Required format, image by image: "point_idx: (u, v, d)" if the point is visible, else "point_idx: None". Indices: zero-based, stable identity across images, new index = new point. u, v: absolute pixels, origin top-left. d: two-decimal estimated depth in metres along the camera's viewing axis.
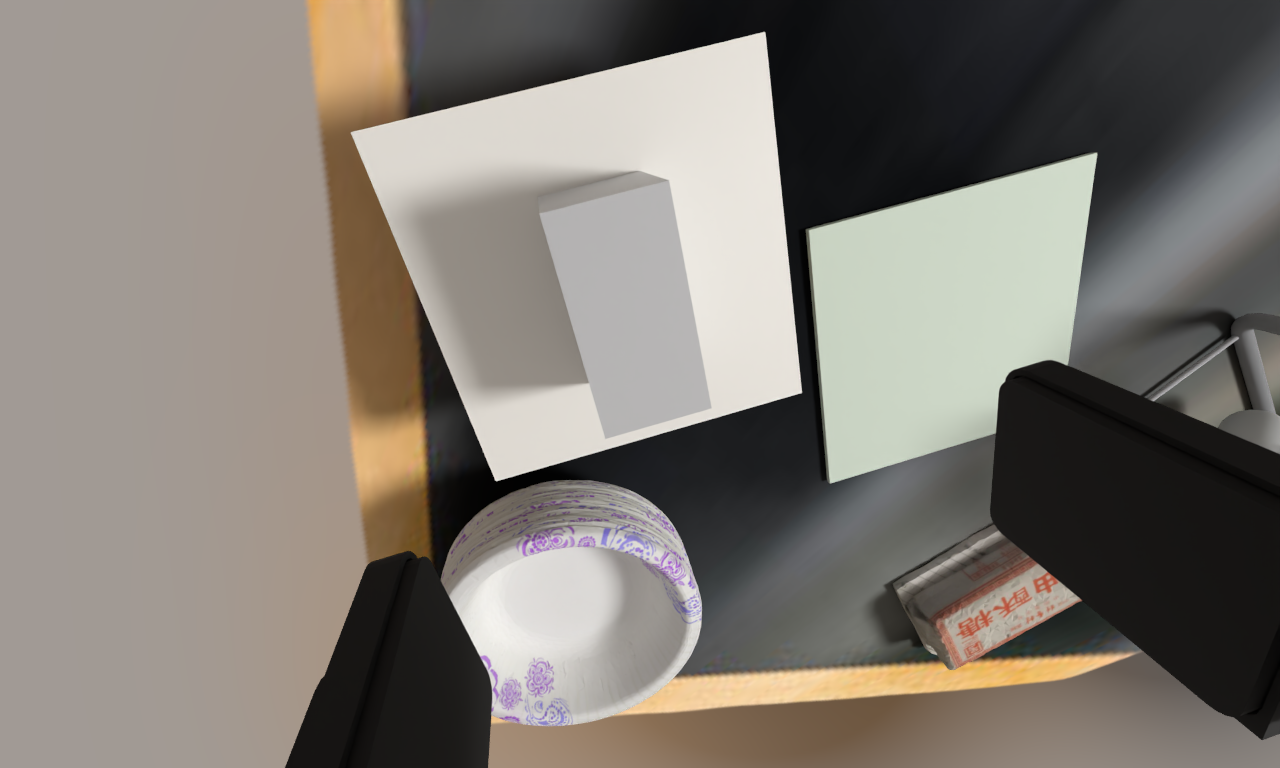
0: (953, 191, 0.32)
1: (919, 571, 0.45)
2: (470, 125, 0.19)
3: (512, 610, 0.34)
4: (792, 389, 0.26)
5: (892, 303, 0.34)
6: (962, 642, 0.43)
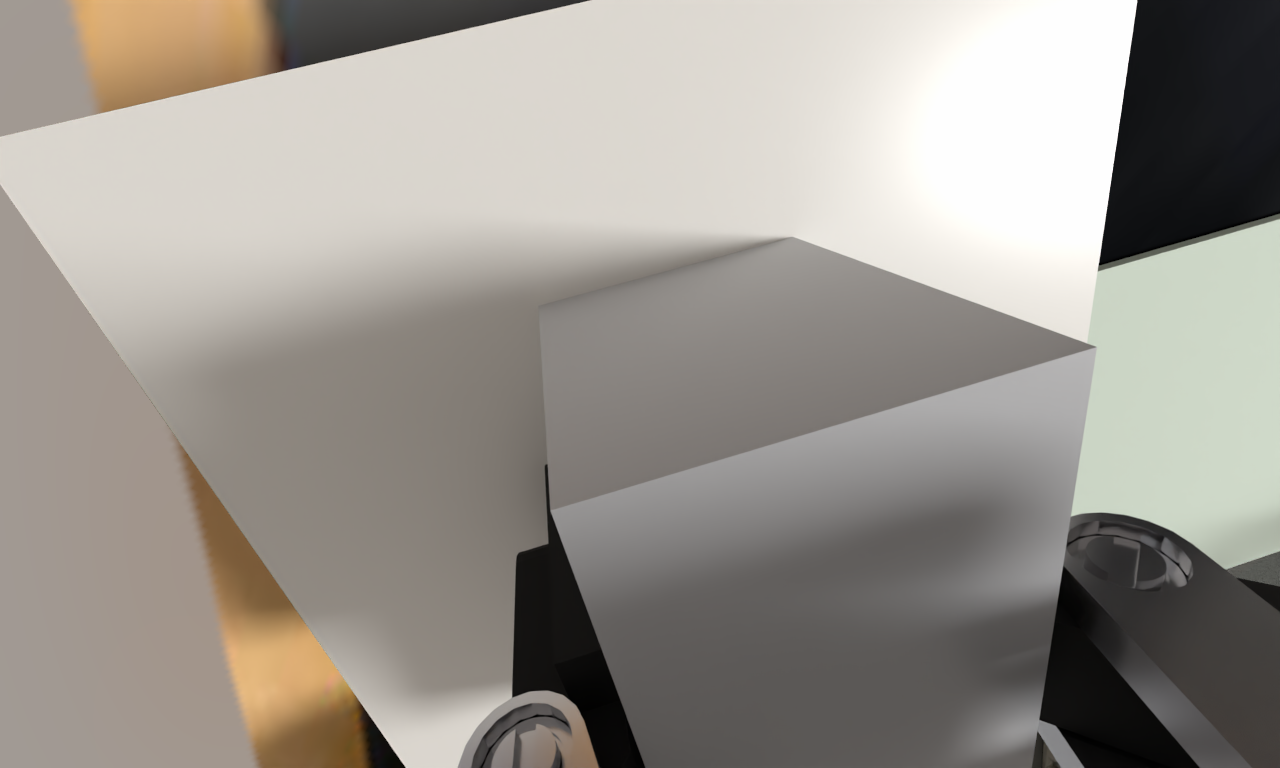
0: (1221, 235, 0.19)
1: None
2: (346, 123, 0.07)
3: None
4: None
5: (1099, 408, 0.21)
6: None
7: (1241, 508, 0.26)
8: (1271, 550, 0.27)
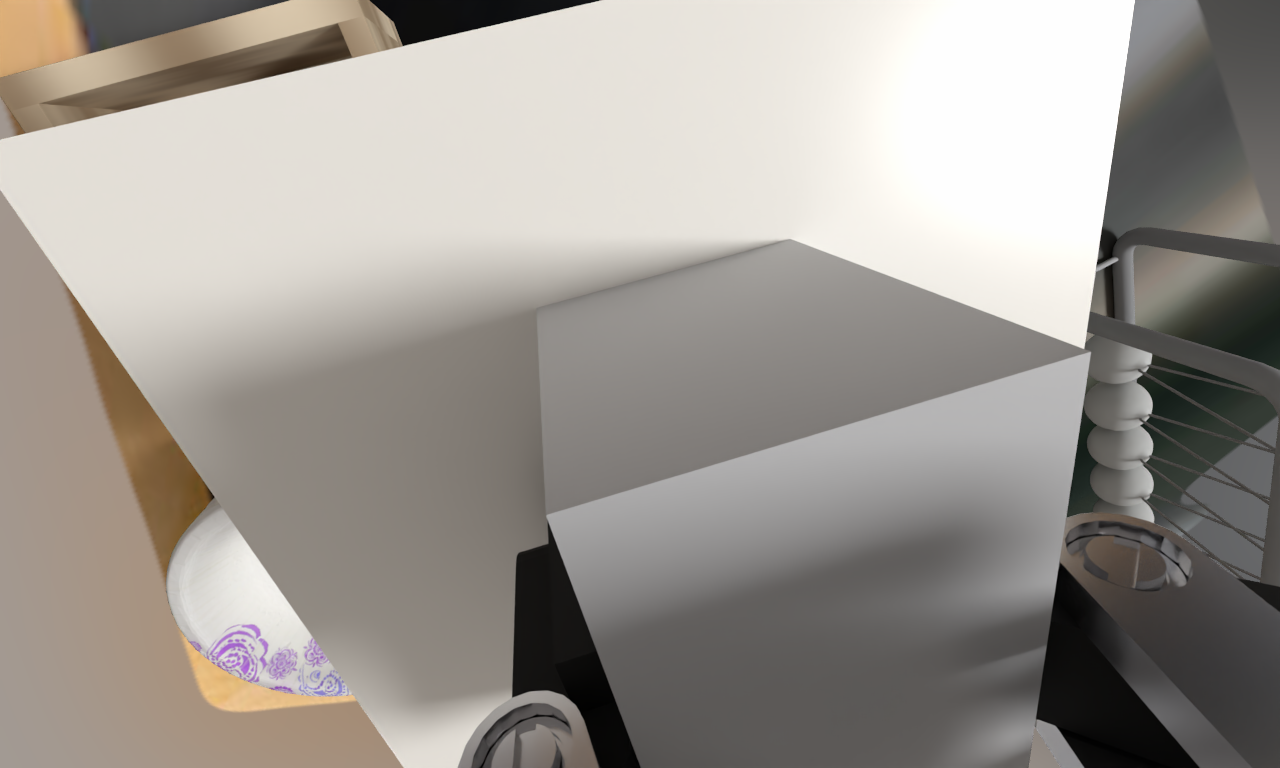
0: None
1: None
2: (344, 126, 0.07)
3: None
4: None
5: None
6: None
7: None
8: None
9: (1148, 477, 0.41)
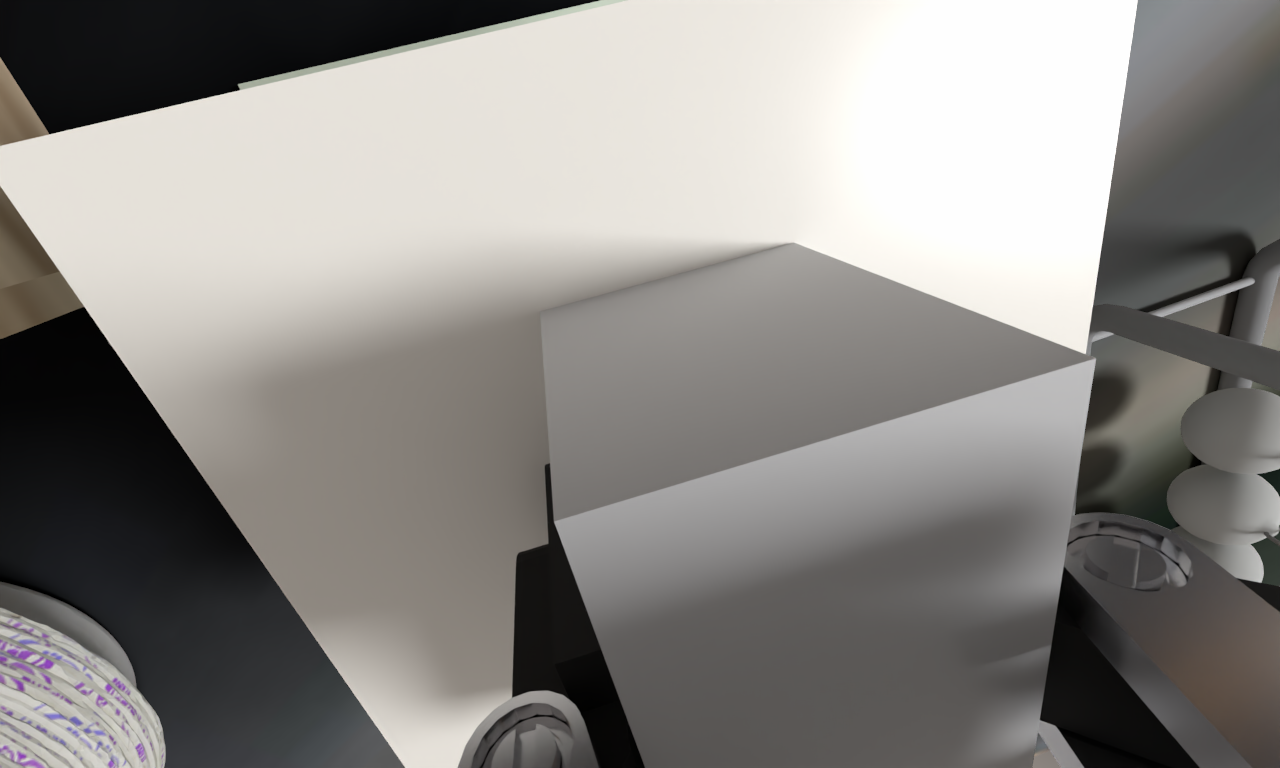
0: (543, 15, 0.16)
1: None
2: (349, 130, 0.07)
3: None
4: None
5: None
6: None
7: None
8: None
9: None
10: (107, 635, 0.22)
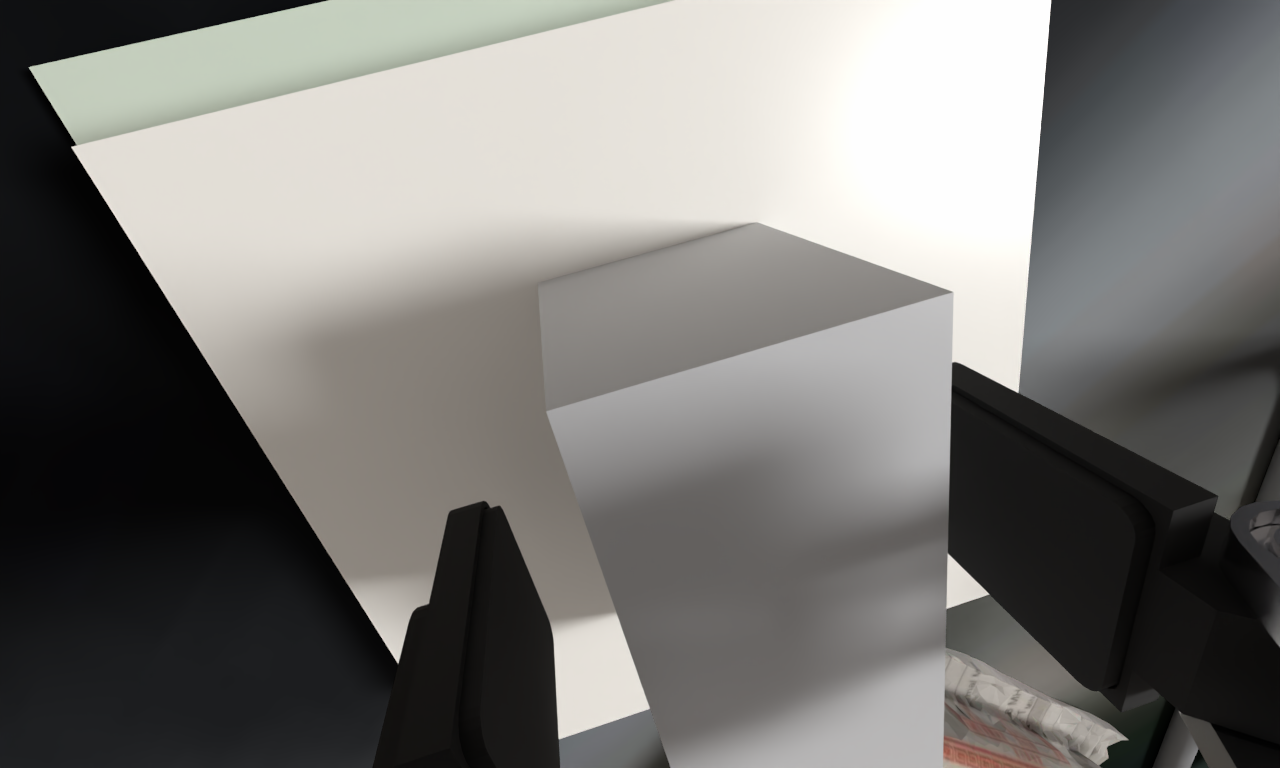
0: None
1: None
2: (376, 127, 0.08)
3: None
4: None
5: None
6: None
7: None
8: None
9: None
10: None
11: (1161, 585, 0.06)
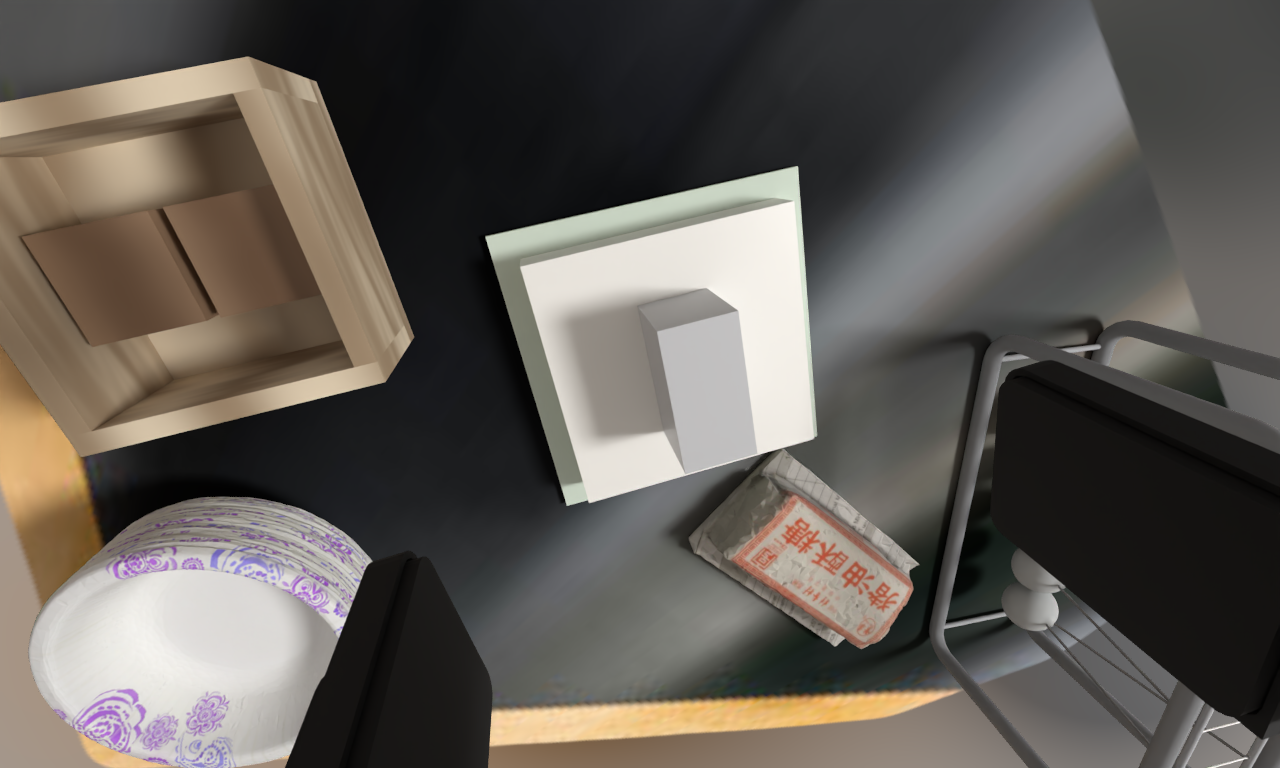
0: (644, 201, 0.31)
1: (801, 464, 0.40)
2: (597, 261, 0.29)
3: (176, 639, 0.31)
4: (806, 436, 0.35)
5: None
6: (776, 538, 0.37)
7: None
8: None
9: None
10: None
11: None
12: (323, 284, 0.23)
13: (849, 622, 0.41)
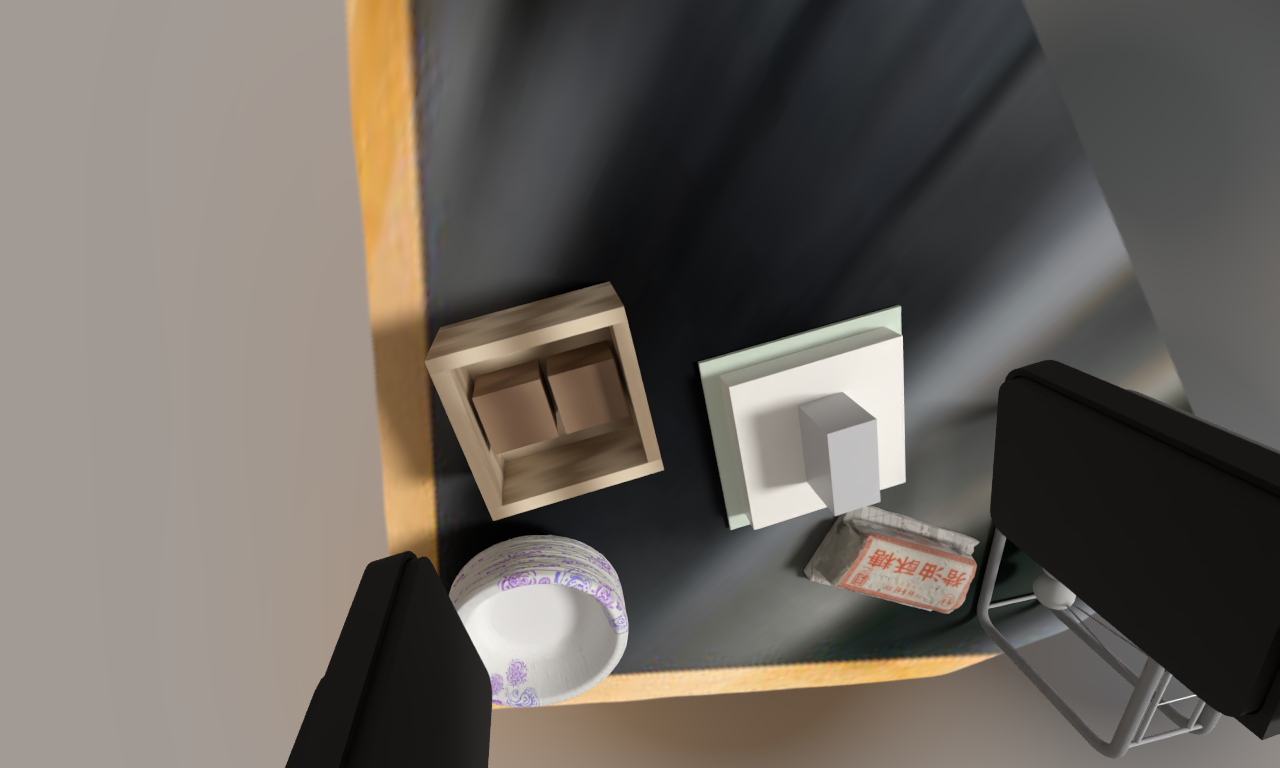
0: (800, 334, 0.46)
1: (870, 506, 0.55)
2: (776, 380, 0.44)
3: (497, 625, 0.48)
4: (900, 480, 0.51)
5: None
6: (864, 565, 0.53)
7: None
8: None
9: None
10: None
11: None
12: (640, 418, 0.39)
13: (933, 601, 0.57)
